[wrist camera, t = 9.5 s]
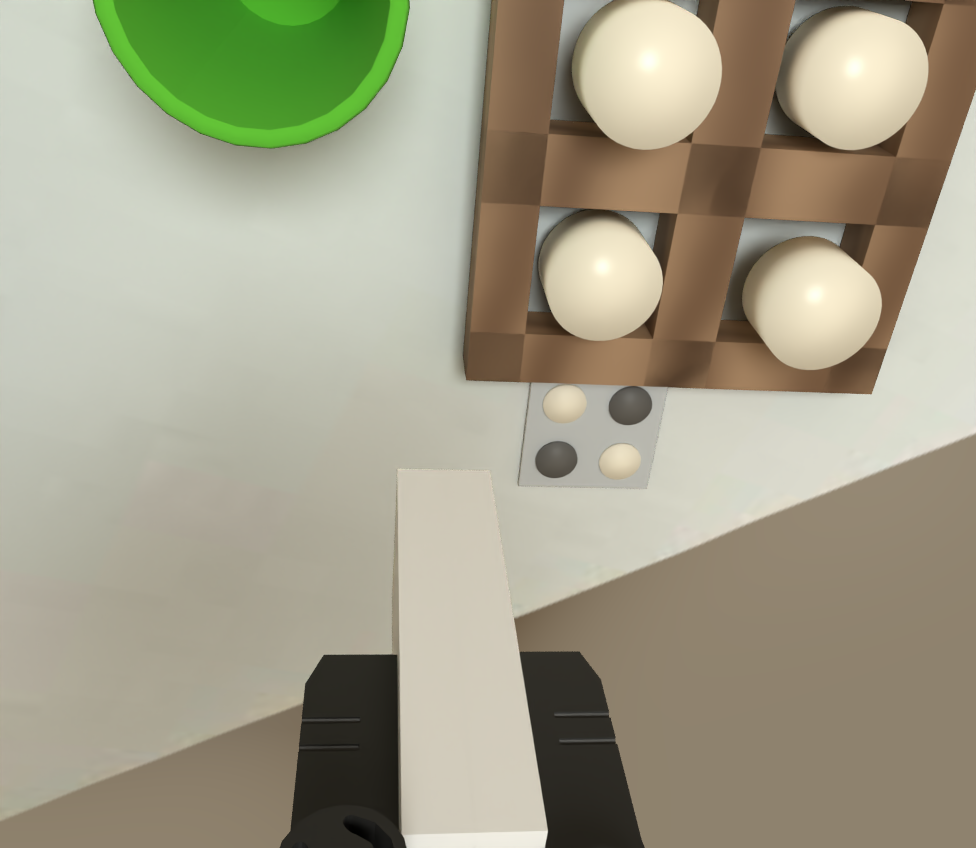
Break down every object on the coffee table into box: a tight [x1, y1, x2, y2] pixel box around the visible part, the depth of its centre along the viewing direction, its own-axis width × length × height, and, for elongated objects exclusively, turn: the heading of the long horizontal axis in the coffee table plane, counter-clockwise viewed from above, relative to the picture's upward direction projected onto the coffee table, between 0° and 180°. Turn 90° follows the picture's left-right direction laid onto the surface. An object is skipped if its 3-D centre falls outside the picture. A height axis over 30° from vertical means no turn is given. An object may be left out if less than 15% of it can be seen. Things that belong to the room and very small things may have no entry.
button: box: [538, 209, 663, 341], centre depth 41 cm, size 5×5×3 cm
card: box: [518, 382, 668, 489], centre depth 48 cm, size 7×7×1 cm
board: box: [463, 0, 976, 394], centre depth 41 cm, size 20×20×2 cm
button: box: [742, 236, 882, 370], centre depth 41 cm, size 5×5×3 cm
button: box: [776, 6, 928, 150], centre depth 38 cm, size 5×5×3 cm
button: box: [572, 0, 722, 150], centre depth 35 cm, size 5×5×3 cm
